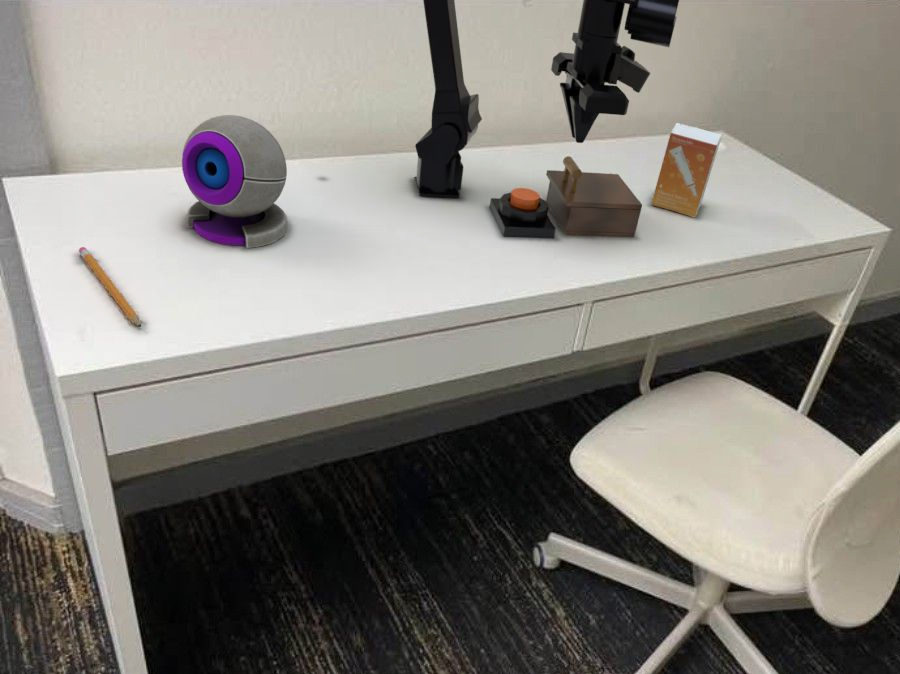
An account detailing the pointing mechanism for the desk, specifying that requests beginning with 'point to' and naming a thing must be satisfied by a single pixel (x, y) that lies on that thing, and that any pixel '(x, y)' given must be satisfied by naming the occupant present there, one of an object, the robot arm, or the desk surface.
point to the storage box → (592, 218)
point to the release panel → (521, 219)
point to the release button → (524, 198)
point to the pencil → (110, 286)
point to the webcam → (235, 182)
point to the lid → (591, 188)
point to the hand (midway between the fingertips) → (577, 140)
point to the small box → (686, 169)
